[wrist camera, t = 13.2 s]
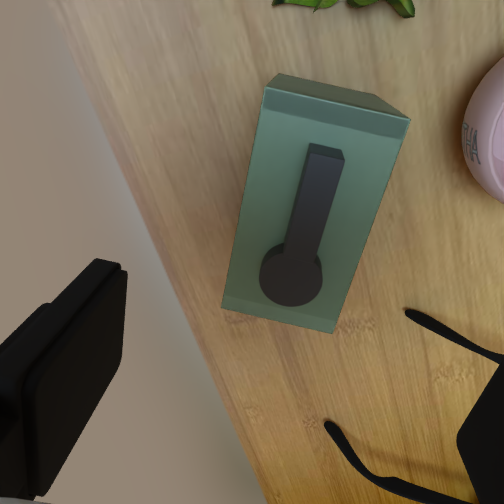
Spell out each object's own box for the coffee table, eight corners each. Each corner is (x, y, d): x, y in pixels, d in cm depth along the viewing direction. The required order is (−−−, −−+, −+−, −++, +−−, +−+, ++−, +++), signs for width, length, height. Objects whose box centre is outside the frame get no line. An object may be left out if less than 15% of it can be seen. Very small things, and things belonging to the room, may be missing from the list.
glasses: (475, 480, 42) (498, 532, 38) (318, 426, 40) (322, 474, 36) (596, 370, 35) (642, 419, 30) (411, 297, 33) (430, 338, 28)
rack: (244, 236, 32) (220, 308, 23) (278, 73, 27) (264, 86, 18) (325, 255, 32) (332, 334, 23) (376, 95, 27) (411, 119, 18)
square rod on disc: (291, 138, 19) (289, 147, 17) (360, 153, 19) (366, 164, 17) (255, 287, 22) (251, 307, 21) (312, 300, 22) (313, 322, 21)
